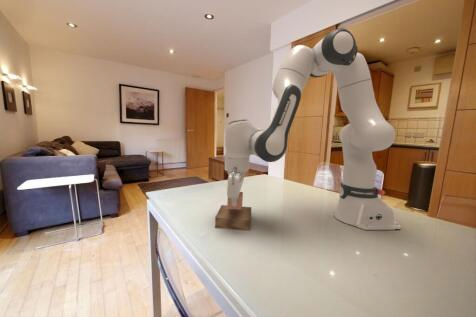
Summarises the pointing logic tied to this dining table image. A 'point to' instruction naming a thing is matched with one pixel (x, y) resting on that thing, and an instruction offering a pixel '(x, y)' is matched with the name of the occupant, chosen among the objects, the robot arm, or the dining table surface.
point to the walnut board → (233, 218)
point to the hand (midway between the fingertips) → (235, 202)
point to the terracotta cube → (239, 202)
